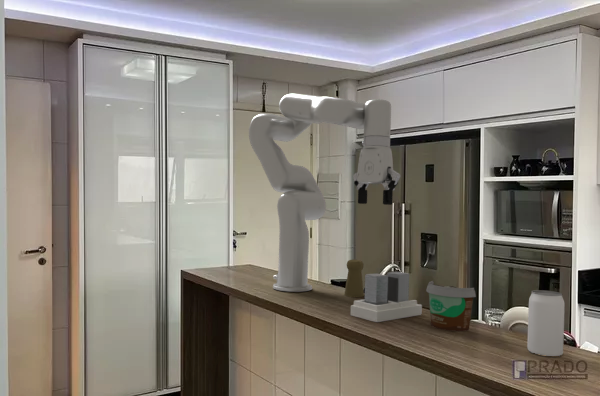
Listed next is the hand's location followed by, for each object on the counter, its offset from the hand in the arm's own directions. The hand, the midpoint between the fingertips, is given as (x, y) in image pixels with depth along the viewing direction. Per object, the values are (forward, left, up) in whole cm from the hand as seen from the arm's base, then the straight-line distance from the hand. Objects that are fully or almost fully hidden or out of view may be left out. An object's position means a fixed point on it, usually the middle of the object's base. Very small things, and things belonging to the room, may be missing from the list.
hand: (374, 204), depth 151 cm
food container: (+29, -6, -28) cm, 41 cm away
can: (+53, -6, -28) cm, 60 cm away
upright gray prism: (+12, -11, -26) cm, 31 cm away
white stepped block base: (+12, -7, -28) cm, 32 cm away
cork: (-12, +5, -28) cm, 31 cm away
